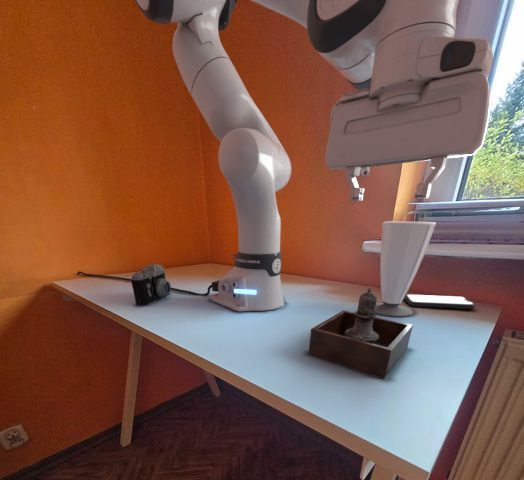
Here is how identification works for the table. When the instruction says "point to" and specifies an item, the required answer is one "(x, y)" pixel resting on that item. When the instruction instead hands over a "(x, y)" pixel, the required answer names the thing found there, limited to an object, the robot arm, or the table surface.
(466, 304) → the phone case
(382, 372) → the crate
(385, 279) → the cup
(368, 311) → the salt shaker
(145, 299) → the camera
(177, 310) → the table surface
